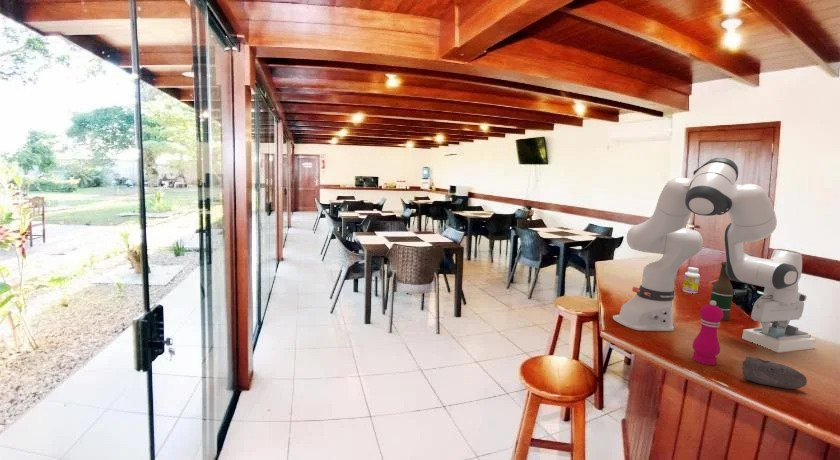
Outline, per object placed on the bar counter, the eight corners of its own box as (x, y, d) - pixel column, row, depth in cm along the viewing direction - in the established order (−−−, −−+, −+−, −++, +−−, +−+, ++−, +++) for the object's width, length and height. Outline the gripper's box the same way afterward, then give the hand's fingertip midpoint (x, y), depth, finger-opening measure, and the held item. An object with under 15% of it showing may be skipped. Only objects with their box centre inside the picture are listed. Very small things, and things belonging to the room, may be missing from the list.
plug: (773, 345, 145) (778, 323, 143) (760, 340, 149) (764, 318, 148) (782, 344, 146) (786, 322, 145) (769, 339, 150) (773, 317, 149)
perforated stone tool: (801, 388, 116) (805, 365, 115) (808, 396, 111) (813, 372, 110) (736, 374, 123) (739, 352, 122) (740, 382, 118) (744, 359, 117)
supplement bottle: (679, 290, 216) (682, 266, 214) (688, 289, 218) (692, 266, 216) (690, 294, 209) (694, 269, 207) (700, 293, 211) (704, 269, 209)
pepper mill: (706, 356, 135) (716, 297, 132) (723, 366, 127) (733, 304, 125) (685, 355, 134) (694, 296, 131) (701, 365, 127) (710, 303, 124)
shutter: (794, 336, 145) (796, 328, 145) (773, 329, 152) (775, 321, 151) (807, 335, 147) (809, 326, 147) (786, 328, 154) (788, 320, 153)
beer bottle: (733, 321, 170) (742, 265, 166) (712, 319, 171) (721, 263, 168) (723, 315, 177) (732, 261, 174) (703, 313, 179) (711, 259, 176)
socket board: (777, 352, 140) (780, 340, 139) (742, 338, 151) (743, 326, 151) (814, 348, 145) (816, 336, 144) (776, 335, 156) (778, 324, 156)
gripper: (768, 298, 139) (761, 337, 141) (810, 296, 145) (803, 333, 147) (749, 293, 145) (743, 330, 147) (790, 291, 151) (783, 326, 153)
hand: (773, 331), depth 147 cm, fingers open, 6 cm apart
